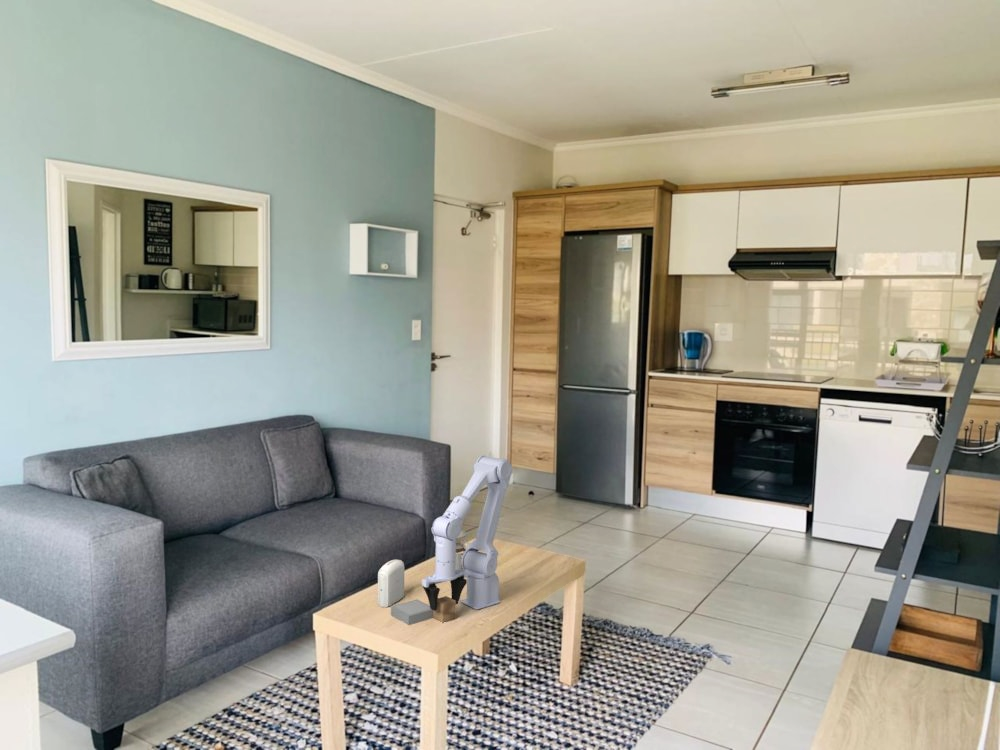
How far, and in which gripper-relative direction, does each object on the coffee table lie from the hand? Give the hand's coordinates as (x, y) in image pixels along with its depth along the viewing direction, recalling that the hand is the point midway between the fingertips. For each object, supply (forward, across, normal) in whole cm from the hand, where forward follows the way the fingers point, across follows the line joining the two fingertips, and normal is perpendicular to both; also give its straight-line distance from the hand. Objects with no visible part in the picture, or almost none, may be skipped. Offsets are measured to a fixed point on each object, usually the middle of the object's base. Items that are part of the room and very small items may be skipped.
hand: (444, 606), depth 211 cm
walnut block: (+4, 0, 0) cm, 4 cm away
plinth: (+4, +6, -7) cm, 10 cm away
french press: (+4, -25, -27) cm, 37 cm away
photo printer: (+4, +5, -20) cm, 21 cm away
